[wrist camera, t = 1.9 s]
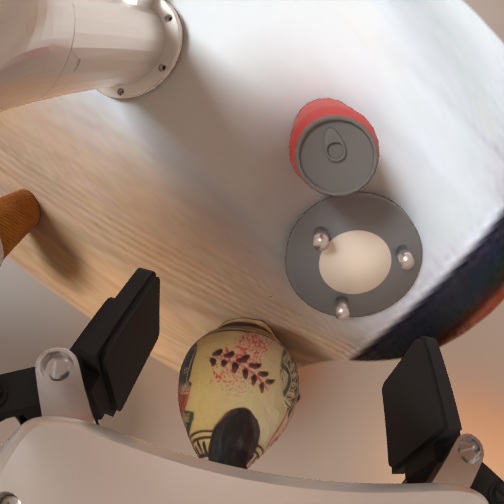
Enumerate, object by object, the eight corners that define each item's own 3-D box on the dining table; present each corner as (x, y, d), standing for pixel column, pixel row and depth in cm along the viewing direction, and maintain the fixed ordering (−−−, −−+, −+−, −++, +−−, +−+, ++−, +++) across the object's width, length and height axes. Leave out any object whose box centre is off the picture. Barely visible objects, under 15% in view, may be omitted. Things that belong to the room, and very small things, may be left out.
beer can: (349, 91, 28) (373, 98, 17) (365, 153, 31) (393, 193, 20) (285, 106, 30) (273, 121, 19) (304, 167, 33) (301, 213, 22)
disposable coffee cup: (37, 174, 38) (-22, 210, 28) (54, 233, 43) (4, 277, 32) (3, 183, 40) (-50, 215, 29) (19, 235, 44) (-27, 273, 34)
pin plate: (301, 177, 33) (301, 181, 32) (437, 211, 32) (442, 217, 31) (275, 296, 41) (273, 304, 40) (390, 318, 40) (392, 326, 39)
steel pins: (315, 224, 34) (315, 235, 32) (410, 246, 33) (416, 258, 31) (295, 298, 39) (294, 311, 37) (380, 314, 38) (383, 327, 36)
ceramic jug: (267, 385, 51) (234, 556, 26) (183, 345, 49) (112, 519, 24) (331, 326, 43) (323, 554, 17) (230, 273, 41) (141, 515, 15)
